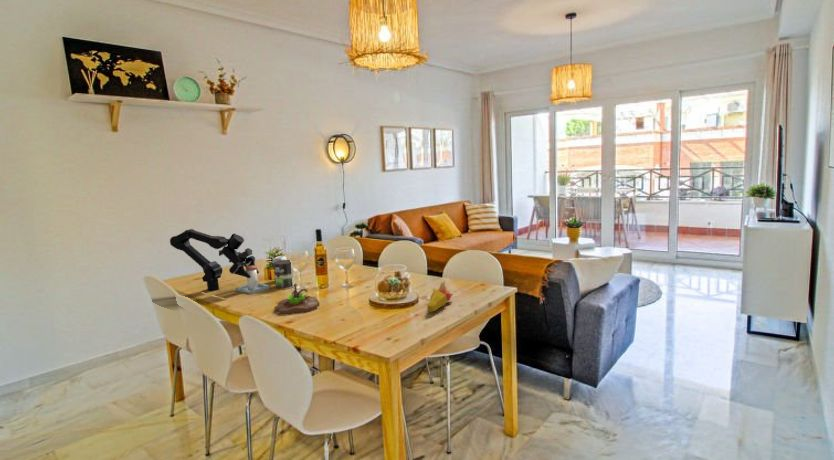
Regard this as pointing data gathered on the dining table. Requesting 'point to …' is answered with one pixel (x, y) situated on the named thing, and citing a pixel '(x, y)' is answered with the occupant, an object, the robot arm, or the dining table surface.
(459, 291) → the dining table surface
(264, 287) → the tray
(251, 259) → the robot arm
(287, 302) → the plant
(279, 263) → the coffee can
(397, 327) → the dining table surface
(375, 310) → the dining table surface
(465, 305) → the dining table surface
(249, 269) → the shaker
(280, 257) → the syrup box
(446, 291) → the flower bouquet
